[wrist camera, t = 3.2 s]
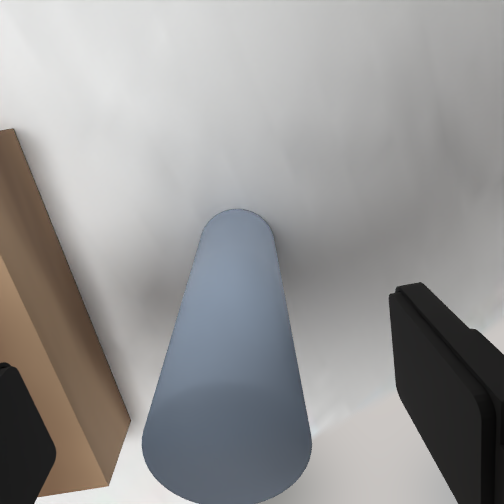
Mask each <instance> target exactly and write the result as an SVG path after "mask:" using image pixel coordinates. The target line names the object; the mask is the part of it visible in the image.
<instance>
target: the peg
mask: <svg viewBox="0 0 504 504" xmlns="http://www.w3.org/2000/svg"><path fill="white" fill-rule="evenodd" d="M311 448H312V440H311V432H310V427H309V422H308V417H307V411H306V406H305V401H304V395H303V390H302V385H301V379H300V374H299V369H298V364H297V358H296V353H295V348H294V342H293V337H292V332H291V326H290V321H289V316H288V311H287V305H286V300H285V295H284V289H283V284H282V279H281V273H280V268H279V263H278V258H277V252H276V247H275V242H274V237H273V233H272V231H271V229H270V227H269V225H268V224H267V223H266V221H265V220H264V219H262V218H261V217H260V216H259V215H257V214H255V213H253V212H250V211H247V210H242V209H232V210H227V211H224V212H221V213H219V214H217V215H216V216H214V217H213V218H212V219H211V220H210V221H209V222H208V223H207V225H206V226H205V228H204V230H203V232H202V235H201V238H200V242H199V245H198V249H197V252H196V255H195V259H194V262H193V265H192V269H191V272H190V276H189V279H188V282H187V286H186V289H185V292H184V296H183V299H182V303H181V306H180V309H179V313H178V316H177V319H176V323H175V326H174V330H173V333H172V336H171V340H170V343H169V346H168V350H167V353H166V357H165V360H164V363H163V367H162V370H161V373H160V377H159V380H158V384H157V387H156V390H155V394H154V397H153V400H152V404H151V407H150V411H149V414H148V417H147V421H146V424H145V427H144V431H143V436H142V451H143V456H144V459H145V462H146V464H147V466H148V468H149V470H150V472H151V473H152V474H153V476H154V477H155V478H156V479H157V480H158V481H159V482H160V483H161V484H162V485H163V486H164V487H165V488H167V489H168V490H170V491H171V492H173V493H174V494H176V495H178V496H180V497H182V498H184V499H186V500H189V501H192V502H195V503H199V504H256V503H259V502H263V501H266V500H268V499H270V498H273V497H275V496H277V495H278V494H280V493H282V492H283V491H285V490H286V489H287V488H289V487H290V486H291V485H292V484H294V483H295V482H296V481H297V480H298V478H299V477H300V476H301V474H302V473H303V472H304V470H305V469H306V467H307V464H308V462H309V459H310V455H311V450H312V449H311Z"/></svg>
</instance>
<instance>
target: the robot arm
mask: <svg viewBox="0 0 504 504" xmlns="http://www.w3.org/2000/svg"><path fill="white" fill-rule="evenodd" d="M389 308H390V320H391V332H392V343H393V355H394V367H395V379H396V387H397V391H398V394H399V397H400V399H401V401H402V403H403V404H404V406H405V408H406V410H407V412H408V414H409V415H410V417H411V419H412V421H413V423H414V424H415V426H416V428H417V430H418V432H419V433H420V435H421V437H422V439H423V441H424V442H425V444H426V446H427V448H428V450H429V452H430V453H431V455H432V457H433V459H434V461H435V462H436V464H437V466H438V468H439V470H440V471H441V473H442V475H443V477H444V478H445V480H446V482H447V484H448V486H449V488H450V490H451V491H452V493H453V495H454V496H455V498H456V500H457V502H458V504H504V355H503V354H502V353H501V352H500V351H499V350H498V349H497V348H496V347H495V346H494V345H493V344H492V343H490V341H489V340H488V339H486V338H485V337H484V336H483V335H482V334H481V333H480V332H479V331H477V330H476V329H469V328H468V327H467V326H466V325H465V324H464V323H463V322H462V321H461V320H460V319H459V318H458V317H457V316H456V315H455V314H454V313H453V312H452V311H451V310H450V309H449V308H448V307H447V306H446V305H445V304H444V303H443V302H442V301H441V300H440V299H438V298H437V297H436V296H435V295H434V294H433V293H432V292H431V291H430V290H429V289H428V288H427V287H426V286H425V285H424V284H423V283H421V282H419V283H414V284H408V285H403V286H398V287H397V288H396V291H395V293H393V294H390V295H389ZM55 460H56V447H55V445H54V443H53V441H52V439H51V437H50V434H49V432H48V430H47V428H46V426H45V424H44V422H43V420H42V418H41V416H40V414H39V412H38V410H37V408H36V406H35V404H34V401H33V399H32V397H31V395H30V393H29V391H28V389H27V387H26V385H25V383H24V381H23V379H22V377H21V375H20V373H19V371H18V369H17V368H16V367H13V366H11V365H10V364H8V363H6V362H2V363H0V504H34V503H35V501H36V499H37V497H38V495H39V493H40V491H41V489H42V487H43V485H44V483H45V481H46V479H47V477H48V475H49V473H50V471H51V469H52V467H53V465H54V463H55Z"/></svg>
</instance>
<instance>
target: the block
mask: <svg viewBox="0 0 504 504" xmlns="http://www.w3.org/2000/svg"><path fill="white" fill-rule="evenodd" d="M2 362H6V363H8V364H10V365H11V366H13V367H16V368H17V369H18V371H19V373H20V375H21V377H22V379H23V381H24V383H25V385H26V387H27V389H28V391H29V393H30V395H31V397H32V399H33V401H34V404H35V406H36V408H37V410H38V412H39V414H40V416H41V418H42V420H43V422H44V424H45V426H46V428H47V430H48V432H49V434H50V437H51V439H52V441H53V443H54V445H55V447H56V460H55V463H54V465H53V467H52V469H51V471H50V473H49V475H48V477H47V479H46V481H45V483H44V485H43V487H42V489H41V491H40V493H39V495H38V497H43V496H49V495H55V494H62V493H68V492H75V491H81V490H87V489H94V488H100V487H106V486H109V483H110V480H111V477H112V475H113V472H114V469H115V466H116V463H117V460H118V457H119V454H120V451H121V448H122V445H123V442H124V439H125V437H126V434H127V431H128V428H129V425H130V422H131V420H130V417H129V415H128V413H127V410H126V408H125V405H124V403H123V400H122V398H121V395H120V393H119V390H118V388H117V385H116V383H115V380H114V378H113V375H112V373H111V370H110V368H109V365H108V363H107V360H106V358H105V355H104V353H103V350H102V348H101V345H100V343H99V340H98V338H97V336H96V333H95V331H94V328H93V326H92V323H91V321H90V318H89V316H88V313H87V311H86V308H85V306H84V303H83V301H82V298H81V296H80V293H79V291H78V288H77V286H76V283H75V281H74V278H73V276H72V273H71V271H70V268H69V266H68V263H67V261H66V258H65V256H64V254H63V251H62V249H61V246H60V244H59V241H58V239H57V236H56V234H55V231H54V229H53V226H52V224H51V221H50V219H49V216H48V214H47V211H46V209H45V206H44V204H43V201H42V199H41V196H40V194H39V191H38V189H37V186H36V184H35V181H34V179H33V176H32V174H31V172H30V169H29V167H28V164H27V162H26V159H25V157H24V154H23V152H22V149H21V147H20V144H19V142H18V139H17V137H16V134H15V132H14V129H7V130H1V131H0V363H2Z"/></svg>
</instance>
